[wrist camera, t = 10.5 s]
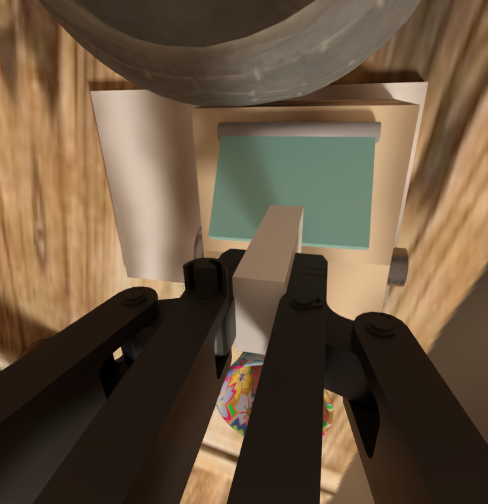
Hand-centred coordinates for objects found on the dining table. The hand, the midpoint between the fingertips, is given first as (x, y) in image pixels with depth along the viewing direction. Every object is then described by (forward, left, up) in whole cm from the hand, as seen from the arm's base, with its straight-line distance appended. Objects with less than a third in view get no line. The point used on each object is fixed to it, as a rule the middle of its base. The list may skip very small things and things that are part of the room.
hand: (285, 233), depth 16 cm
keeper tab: (0, +1, -3) cm, 4 cm away
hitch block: (-5, -3, -14) cm, 15 cm away
